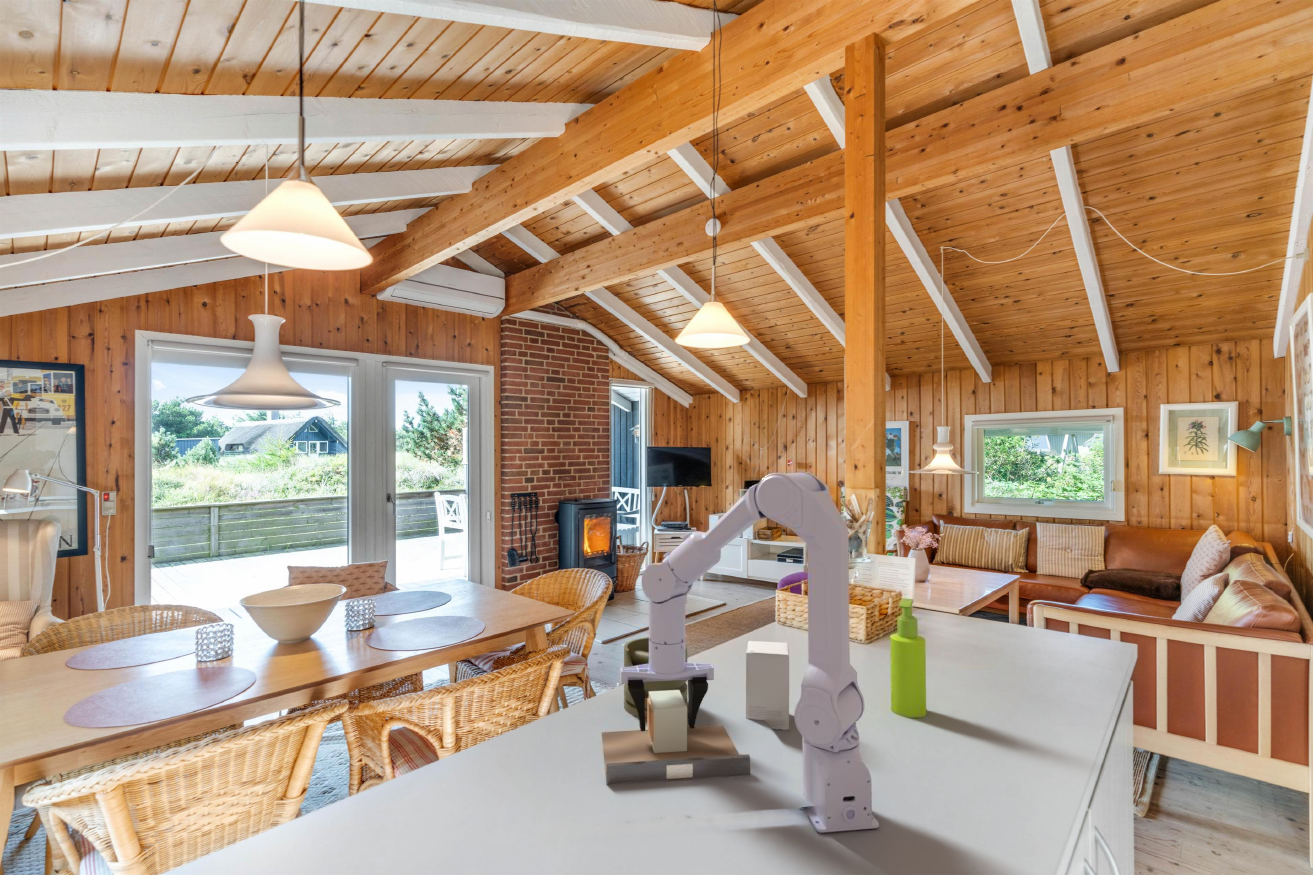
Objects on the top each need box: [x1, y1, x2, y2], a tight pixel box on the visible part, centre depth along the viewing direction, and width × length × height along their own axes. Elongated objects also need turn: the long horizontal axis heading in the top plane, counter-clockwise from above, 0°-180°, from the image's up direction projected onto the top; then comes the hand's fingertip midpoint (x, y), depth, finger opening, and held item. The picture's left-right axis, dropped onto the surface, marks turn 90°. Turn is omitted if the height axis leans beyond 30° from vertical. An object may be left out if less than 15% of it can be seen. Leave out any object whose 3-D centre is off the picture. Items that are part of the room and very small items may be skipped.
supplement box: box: [745, 640, 790, 731], centre depth 108 cm, size 7×7×13 cm
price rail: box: [605, 754, 751, 785], centre depth 85 cm, size 1×20×2 cm, turn 97°
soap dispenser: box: [889, 597, 927, 719], centre depth 111 cm, size 6×7×20 cm
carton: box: [646, 690, 688, 753], centre depth 97 cm, size 5×7×6 cm
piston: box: [623, 636, 688, 720], centre depth 111 cm, size 11×12×11 cm
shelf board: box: [601, 724, 744, 786], centre depth 93 cm, size 16×20×2 cm
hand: (666, 727), depth 97 cm, fingers open, 7 cm apart
